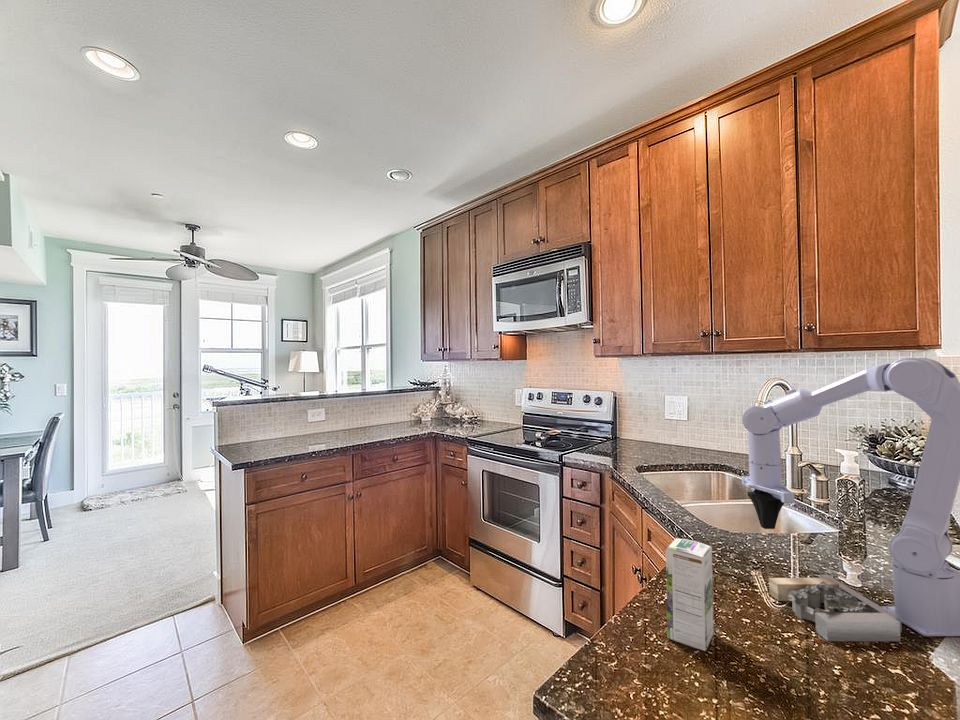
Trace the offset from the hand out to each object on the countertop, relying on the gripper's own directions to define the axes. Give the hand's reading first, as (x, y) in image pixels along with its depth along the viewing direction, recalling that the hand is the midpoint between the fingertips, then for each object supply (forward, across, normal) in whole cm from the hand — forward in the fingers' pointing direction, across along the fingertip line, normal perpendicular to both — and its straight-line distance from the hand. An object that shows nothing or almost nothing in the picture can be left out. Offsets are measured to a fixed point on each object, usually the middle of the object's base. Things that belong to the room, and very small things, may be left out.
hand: (767, 527), depth 90 cm
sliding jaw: (+9, +10, 0) cm, 14 cm away
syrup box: (+10, +22, -26) cm, 35 cm away
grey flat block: (+9, +14, +1) cm, 17 cm away
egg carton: (+10, +16, 0) cm, 18 cm away
